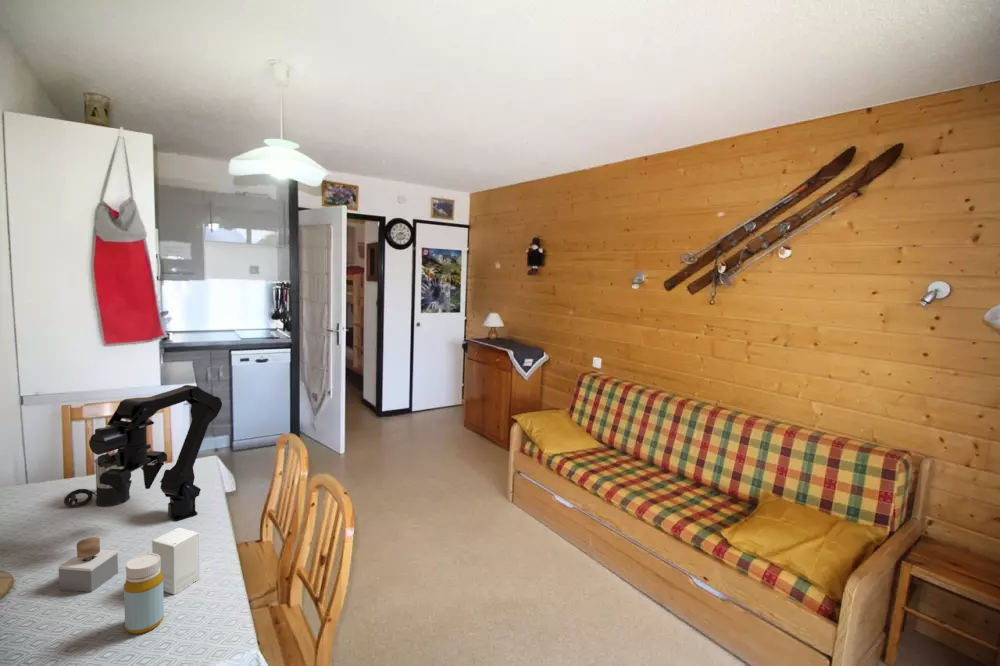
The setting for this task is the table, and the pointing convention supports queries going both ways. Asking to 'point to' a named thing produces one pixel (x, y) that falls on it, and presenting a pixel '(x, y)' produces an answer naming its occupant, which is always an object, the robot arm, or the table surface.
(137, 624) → the bottle
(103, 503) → the milk frother
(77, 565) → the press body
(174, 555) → the supplement box
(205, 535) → the table surface
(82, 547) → the plunger
